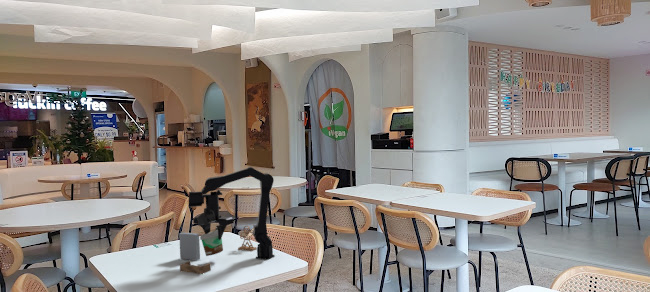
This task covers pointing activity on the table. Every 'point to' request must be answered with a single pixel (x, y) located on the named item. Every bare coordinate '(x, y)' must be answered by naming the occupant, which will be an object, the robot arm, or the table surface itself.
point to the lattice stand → (247, 248)
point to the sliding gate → (189, 246)
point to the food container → (211, 243)
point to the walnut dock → (194, 268)
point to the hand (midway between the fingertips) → (214, 239)
